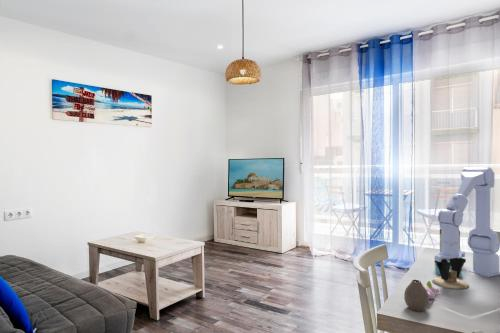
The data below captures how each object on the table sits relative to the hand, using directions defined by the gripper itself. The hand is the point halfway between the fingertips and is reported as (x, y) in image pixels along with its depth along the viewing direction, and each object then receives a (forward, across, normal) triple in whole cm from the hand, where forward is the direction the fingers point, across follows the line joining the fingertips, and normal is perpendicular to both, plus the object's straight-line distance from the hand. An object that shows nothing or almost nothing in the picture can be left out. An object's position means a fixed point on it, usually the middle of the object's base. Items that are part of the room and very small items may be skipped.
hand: (450, 278), depth 127 cm
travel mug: (+3, +27, +19) cm, 33 cm away
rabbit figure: (+3, -18, -5) cm, 19 cm away
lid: (+2, 0, 0) cm, 2 cm away
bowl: (+3, +10, +8) cm, 13 cm away
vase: (+3, -29, -9) cm, 30 cm away
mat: (+3, 0, 0) cm, 3 cm away
